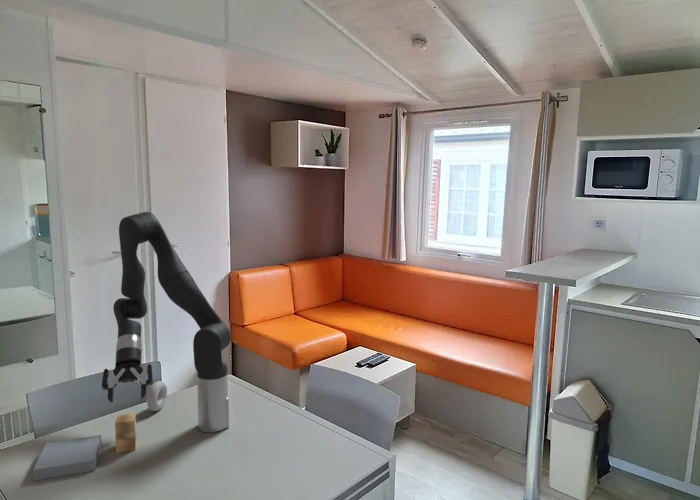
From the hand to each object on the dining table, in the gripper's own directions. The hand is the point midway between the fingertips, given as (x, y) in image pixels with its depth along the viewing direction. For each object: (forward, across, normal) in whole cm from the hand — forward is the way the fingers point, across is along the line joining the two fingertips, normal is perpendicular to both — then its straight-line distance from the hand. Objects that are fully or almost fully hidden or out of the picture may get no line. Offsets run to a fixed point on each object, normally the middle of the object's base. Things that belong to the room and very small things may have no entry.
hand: (127, 399), depth 144 cm
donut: (-3, +8, +19) cm, 21 cm away
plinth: (+15, -14, +1) cm, 21 cm away
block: (+13, 0, +3) cm, 14 cm away
